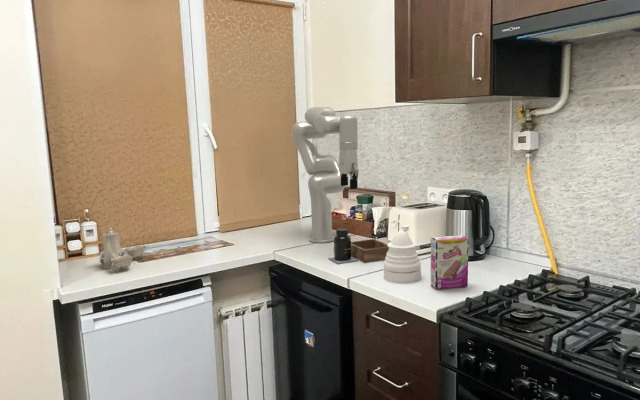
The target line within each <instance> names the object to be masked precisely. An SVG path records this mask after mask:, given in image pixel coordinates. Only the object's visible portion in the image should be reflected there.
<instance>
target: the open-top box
mask: <svg viewBox="0 0 640 400" xmlns="http://www.w3.org/2000/svg"><path fill="white" fill-rule="evenodd" d="M387 245H388V243H386V242H383V241H380V240H378V239H375V238H369V239H362V240H356V241H354V240H353V241H351V257H353V258H355V259H357V260H358V261H360V262H362V263H363V264H367V263H374V262H378V261H385V258H386V256H387V255H386V254H387V252H388V249H389V248H388V246H387Z"/></svg>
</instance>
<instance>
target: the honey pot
mask: <svg viewBox="0 0 640 400" xmlns="http://www.w3.org/2000/svg"><path fill="white" fill-rule="evenodd" d="M401 229H402V230H398V231H397V232H396V233H395V235H394V236H393V238H392V240H391V241H389V242H388V243H387V244H388V245H387V246H388V248H389V249H388V252H387V254H386V255H387V256H386V258H385V260H383V279H384V280H385V281H386V282H387V281H388V282H390V283H394V284H395V283H396V284H411V283H415V282H418V281H420V280H421V278H422V268H421V267H422V266H421V264H422V263H421V261H420V257H419V254H418V252H417V249H416V248H417V244H416V243H415V242H413V241H412V238H411V237H410V235H409V234H408V233H407V232H408V231H409V229H410V225H408V224H407V225H401Z"/></svg>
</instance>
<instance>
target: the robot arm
mask: <svg viewBox="0 0 640 400" xmlns="http://www.w3.org/2000/svg"><path fill="white" fill-rule="evenodd" d="M304 119H305V121H299V122H296V123H294V124H293V125H292V127H291V132H290V133H291V134H290V135H291V139H292V142H293V144H294V145H295V148H296V149H297V151H298V152H299V155H300V157H301V160H302V163H303V166H304V169H305V172H306V173H307V174H308V175H309V176H310V177H309V178H308V181H307V186H308V191H309V196H310V208H311V209H310V210H311V212H310V213H311V231H312V234H311V235H312V236H310V237H309V238H308V239H309V241H308V242H311V243H314V244H315V243H317V244H318V243H319V244H320V243H321V244H322V243H332V242H334V237H335V236H336V235H333V223H332V221H333V218H332V202H331V200H330V199H329V197H328V196H327V195H329V194H338V193H341V192H343V191H344V189H345V187H347V186H349V189H350V190H356V189H357V190H358V179H359V171H360V170H359V166H358V165H359V164H358V162H359V161H358V160H359V159H358V150H359V149H358V144H359V143H358V118H357V117H356V116H355V115H336V111H335V110H334V109H333V108H332V107H328V106H326V107H325V106H321V107H319V106H317V107H310V108H308V109H307V110H306V111H305V113H304ZM334 134H338V135H339V137H338V139H339V144H338V146H339V149H338V150H339V153H338V159H336V157H335V156H333V155H331V154H320V153H319V151H318V148H317V146H315V145H314V143H312V142H311V141H310V140H309V139H313V140H314V139H323V138H325V137H326V136H328V135H334ZM349 178H350V179H349Z"/></svg>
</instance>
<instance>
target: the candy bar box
mask: <svg viewBox="0 0 640 400" xmlns="http://www.w3.org/2000/svg"><path fill="white" fill-rule="evenodd" d="M469 242H470V241H469V238H468V237H466V236H464V235H448V236H447V235H446V236H431V237H430V287H432V288H433V289H435V290H446V289H457V288H458V289H459V288H468V283H469V281H468V280H469Z"/></svg>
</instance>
